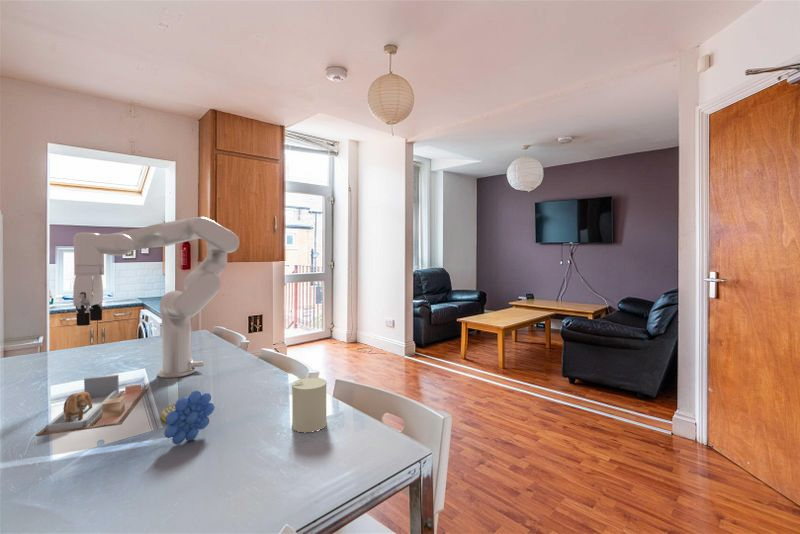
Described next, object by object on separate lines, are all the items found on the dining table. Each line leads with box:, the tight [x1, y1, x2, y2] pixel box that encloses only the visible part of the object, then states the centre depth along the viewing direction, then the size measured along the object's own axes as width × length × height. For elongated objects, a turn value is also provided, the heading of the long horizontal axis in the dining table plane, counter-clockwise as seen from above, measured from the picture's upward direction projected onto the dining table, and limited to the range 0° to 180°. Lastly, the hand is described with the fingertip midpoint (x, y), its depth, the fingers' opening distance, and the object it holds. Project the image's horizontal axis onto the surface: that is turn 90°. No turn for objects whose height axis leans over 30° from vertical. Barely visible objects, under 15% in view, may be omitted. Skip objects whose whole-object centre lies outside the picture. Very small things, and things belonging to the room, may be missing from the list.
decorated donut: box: [160, 403, 176, 423], centre depth 105 cm, size 10×11×4 cm
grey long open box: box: [44, 374, 120, 432], centre depth 108 cm, size 8×26×7 cm, turn 22°
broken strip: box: [95, 383, 143, 426], centre depth 111 cm, size 5×26×3 cm, turn 21°
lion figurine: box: [63, 391, 93, 422], centre depth 104 cm, size 15×5×9 cm, turn 34°
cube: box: [102, 396, 126, 418], centre depth 105 cm, size 4×4×4 cm
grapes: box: [163, 390, 215, 445], centre depth 93 cm, size 12×7×12 cm, turn 143°
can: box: [291, 377, 328, 434], centre depth 101 cm, size 9×9×12 cm
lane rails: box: [35, 387, 149, 436], centre depth 109 cm, size 18×28×1 cm, turn 22°
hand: (90, 322), depth 123 cm, fingers open, 9 cm apart
